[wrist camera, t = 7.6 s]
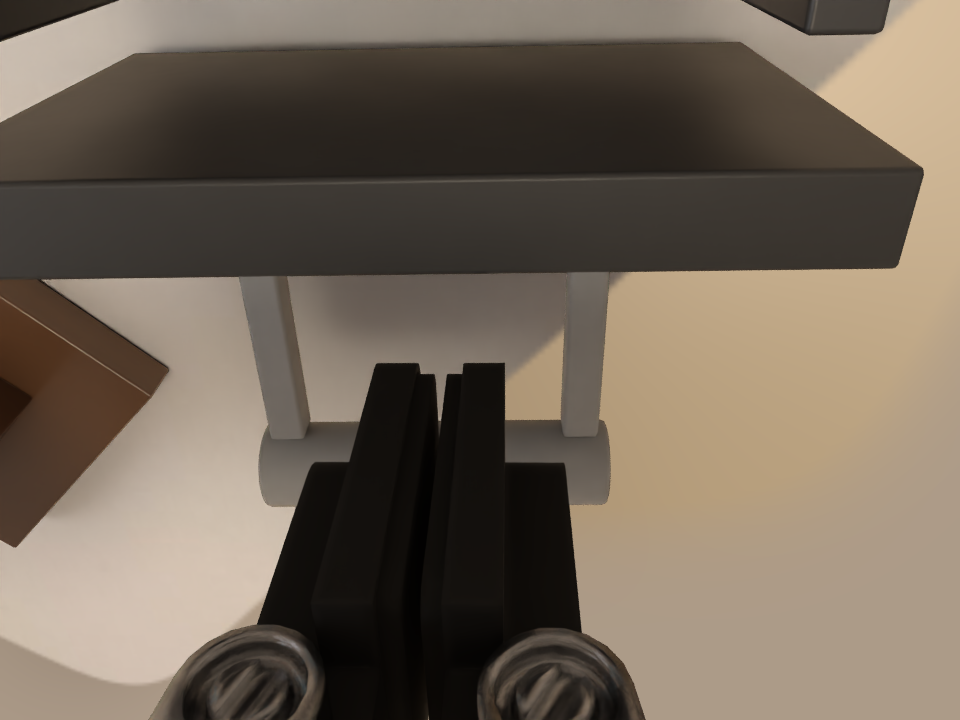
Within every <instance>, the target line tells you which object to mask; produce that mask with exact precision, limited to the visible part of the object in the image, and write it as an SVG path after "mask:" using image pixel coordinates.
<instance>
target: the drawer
mask: <svg viewBox="0 0 960 720" xmlns="http://www.w3.org/2000/svg"><path fill="white" fill-rule="evenodd" d="M116 1H119V0H0V42H1V41H4V40H7V39H10V38H13V37H16V36H18V35H21V34H24V33H27V32H30V31H33V30H36V29H38V28H41V27H44V26H47V25H50V24H53V23H56V22H58V21H61V20H64V19H67V18H70V17H73V16H76V15H78V14H81V13H84V12H87V11H90V10H93V9H96V8H99V7H101V6H104V5H107V4H110V3H113V2H116ZM742 1H744V2H746V3H748V4H749V5H751V6H753V7H755V8H757V9H759V10H761V11H763V12H765V13H767V14H769V15H770V16H772V17H774V18H776V19H778V20H780V21H782V22H784V23H786V24H788V25H790V26H791V27H793V28H795V29H797V30H799V31H801V32H803V33H805V34H807V35H809V36H810V35H862V34H876V33H879V32H881V31H882V30H883V28H884V25H885V20H886V16H887V12H888V7H889V3H890V0H742ZM923 176H924V172H923V168H922V167H920V166H919V165H918V164H916V163H915V162H913V161H912V160H910V159H909V158H907V157H906V156H905V155H903V154H902V153H900V152H899V151H897V150H896V149H894V148H893V147H892V146H890V145H889V144H887V143H886V142H884V141H883V140H881V139H880V138H878V137H877V136H876V135H874V134H873V133H871V132H870V131H868V130H867V129H866V128H864V127H863V126H861V125H860V124H858V123H857V122H855V121H854V120H853V119H851V118H850V117H848V116H847V115H845V114H844V113H842V112H841V111H839V110H838V109H837V108H835V107H834V106H832V105H831V104H829V103H828V102H826V101H825V100H824V99H822V98H821V97H819V96H818V95H816V94H815V93H814V92H812V91H811V90H809V89H808V88H806V87H805V86H803V85H802V84H801V83H799V82H798V81H796V80H795V79H793V78H792V77H790V76H789V75H788V74H786V73H785V72H783V71H782V70H780V69H779V68H778V67H776V66H775V65H773V64H772V63H770V62H769V61H767V60H766V59H765V58H763V57H762V56H760V55H759V54H757V53H756V52H754V51H753V50H752V49H750V48H749V47H747V46H746V45H744V44H743V43H741V42H717V43H664V44H612V45H559V46H507V47H455V48H402V49H350V50H297V51H245V52H192V53H140V54H133V55H131V56H129V57H127V58H125V59H123V60H121V61H119V62H117V63H115V64H113V65H112V66H110V67H108V68H106V69H104V70H102V71H100V72H98V73H96V74H94V75H92V76H90V77H88V78H86V79H84V80H82V81H80V82H78V83H77V84H75V85H73V86H71V87H69V88H67V89H65V90H63V91H61V92H59V93H57V94H55V95H53V96H51V97H49V98H47V99H45V100H43V101H41V102H40V103H38V104H36V105H34V106H32V107H30V108H28V109H26V110H24V111H22V112H20V113H18V114H16V115H14V116H12V117H10V118H8V119H6V120H5V121H3V122H1V123H0V280H25V279H104V278H182V277H239V281H240V286H241V291H242V296H243V301H244V306H245V310H246V315H247V320H248V325H249V330H250V335H251V340H252V345H253V350H254V355H255V360H256V365H257V370H258V375H259V380H260V385H261V390H262V395H263V400H264V405H265V410H266V415H267V420H268V427H267V428H266V430H265V432H264V435H263V438H262V442H261V447H260V454H259V482H260V488H261V493H262V496H263V499H264V501H265V503H266V504H267V505H269V506H272V507H296V506H297V503H298V500H299V497H300V495H301V492H302V489H303V486H304V483H305V480H306V477H307V474H308V471H309V469H310V467H311V465H312V464H313V463H314V462H349V460H350V456H351V453H352V449H353V445H354V441H355V438H356V434H357V430H358V427H359V423H360V422H310V413H309V407H308V401H307V395H306V389H305V383H304V377H303V371H302V365H301V359H300V353H299V347H298V341H297V335H296V328H295V322H294V316H293V310H292V304H291V298H290V292H289V286H288V280H287V276H339V275H417V274H495V273H567V277H566V301H565V325H564V350H563V374H562V397H561V420H505V462H543V463H564V464H565V468H566V477H567V487H568V497H569V505H602V504H605V503H606V502H607V499H608V496H609V489H610V447H609V438H608V432H607V428H606V425H605V423H604V421H602V420H599V411H600V410H599V409H600V397H601V384H602V371H603V357H604V344H605V330H606V316H607V315H606V314H607V303H608V289H609V275H610V272H647V271H648V272H649V271H650V272H652V271H725V270H726V271H727V270H728V271H730V270H802V269H803V270H808V269H883V268H884V269H885V268H895V267H896V266H897V265H898V263H899V260H900V256H901V253H902V249H903V246H904V242H905V239H906V235H907V231H908V228H909V225H910V221H911V218H912V214H913V211H914V207H915V204H916V200H917V197H918V193H919V190H920V186H921V183H922V179H923ZM438 426H439V435H440V427H441V421H438Z"/></svg>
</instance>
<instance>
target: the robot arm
mask: <svg viewBox="0 0 960 720" xmlns="http://www.w3.org/2000/svg"><path fill="white" fill-rule="evenodd" d="M428 716H429V720H646V719H645V717H644V713H643V710H642V707H641V704H640V701H639V698H638V695H637V692H636V689H635V686H634V683H633V681H632V679H631V677H630V675H629V673H628V671H627V669H626V667H625V665H624V663H623V662H622V661H621V660H620V659H619V658H618V657H617V656H616V655H615V654H614V653H613V652H612V651H611V650H610V649H609V648H608V647H607V646H606V645H604V644H602V643H601V642H599V641H597V640H595V639H594V638H592V637H590V636H589V635H587V634H583V633H582V631H581V620H580V610H579V600H578V589H577V580H576V569H575V559H574V549H573V538H572V528H571V518H570V508H569V497H568V487H567V477H566V468H565V464H564V463H543V462H505V363H464V364H463V372H462V374H447V378H446V386H445V394H444V402H443V411H442V419H441V427H440V435H439V426H438V409H437V392H436V379H435V374H421V373H420V366H419V364H418V363H377V364H376V365H375V368H374V372H373V375H372V379H371V383H370V386H369V390H368V394H367V397H366V401H365V405H364V408H363V412H362V416H361V419H360V423H359V427H358V430H357V434H356V438H355V441H354V445H353V449H352V453H351V456H350V460H349V462H314V463H313V464H312V465H311V467H310V469H309V471H308V474H307V477H306V480H305V483H304V486H303V489H302V492H301V495H300V497H299V500H298V503H297V506H296V509H295V512H294V515H293V518H292V521H291V524H290V527H289V530H288V533H287V536H286V539H285V542H284V545H283V548H282V551H281V554H280V557H279V560H278V563H277V566H276V569H275V572H274V575H273V578H272V581H271V584H270V587H269V590H268V593H267V596H266V599H265V602H264V605H263V608H262V611H261V614H260V617H259V620H258V623H257V625H252V626H248V627H244V628H240V629H235V630H231V631H229V632H227V633H225V634H223V635H221V636H219V637H217V638H215V639H213V640H211V641H209V642H207V643H206V644H205V645H204V646H202V647H201V648H200V649H199V650H197V651H196V652H195V653H194V654H192V655H191V656H190V657H189V658H188V659H187V660H186V662H185V663H184V664H183V665H182V667H181V668H180V669H179V671H178V672H177V673H176V674H175V676H174V677H173V679H172V681H171V682H170V684H169V686H168V688H167V689H166V691H165V692H164V694H163V696H162V698H161V699H160V701H159V703H158V705H157V706H156V708H155V709H154V711H153V713H152V715H151V716H150V718H149V720H428Z"/></svg>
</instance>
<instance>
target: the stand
mask: <svg viewBox="0 0 960 720" xmlns="http://www.w3.org/2000/svg"><path fill="white" fill-rule="evenodd" d="M167 373H168V369H167V368H166V367H165V366H163V365H162V364H160V363H159V362H157V361H156V360H154V359H153V358H151V357H150V356H148V355H147V354H146V353H144V352H143V351H141V350H140V349H138V348H137V347H135V346H134V345H132V344H131V343H129V342H128V341H126V340H125V339H124V338H122V337H121V336H119V335H118V334H116V333H115V332H113V331H112V330H110V329H109V328H107V327H106V326H104V325H103V324H102V323H100V322H99V321H97V320H96V319H94V318H93V317H91V316H90V315H88V314H87V313H85V312H84V311H82V310H81V309H80V308H78V307H77V306H75V305H74V304H72V303H71V302H69V301H68V300H66V299H65V298H63V297H62V296H60V295H59V294H58V293H56V292H55V291H53V290H52V289H50V288H49V287H47V286H46V285H44V284H43V283H41V282H40V281H39V280H37V279H25V280H0V540H1V541H3V542H5V543H7V544H9V545H11V546H12V547H17V546H18V545H19V544H20V543H21V542H22V541H23V539H24V538H25V537H26V536H27V535H28V534H29V533H30V532H31V530H32V529H33V528H34V527H35V526H36V525H37V524H38V523H39V522H40V520H41V519H42V518H43V517H44V516H45V515H46V514H47V513H48V512H49V510H50V509H51V508H52V507H53V506H54V505H55V504H56V503H57V502H58V500H59V499H60V498H61V497H62V496H63V495H64V494H65V493H66V492H67V490H68V489H69V488H70V487H71V486H72V485H73V484H74V483H75V482H76V480H77V479H78V478H79V477H80V476H81V475H82V474H83V473H84V472H85V470H86V469H87V468H88V467H89V466H90V465H91V464H92V463H93V462H94V460H95V459H96V458H97V457H98V456H99V455H100V454H101V453H102V452H103V450H104V449H105V448H106V447H107V446H108V445H109V444H110V443H111V442H112V440H113V439H114V438H115V437H116V436H117V435H118V434H119V433H120V432H121V430H122V429H123V428H124V427H125V426H126V425H127V424H128V423H129V422H130V420H131V419H132V418H133V417H134V416H135V415H136V414H137V413H138V412H139V410H140V409H141V408H142V407H143V406H144V405H145V404H146V403H147V402H148V400H149V399H150V398H151V397H152V396H153V394H154V393H155V391H156V390H157V388H158V387H159V385H160V383H161V382H162V380H163V379H164V377H165V376H166V374H167Z"/></svg>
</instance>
